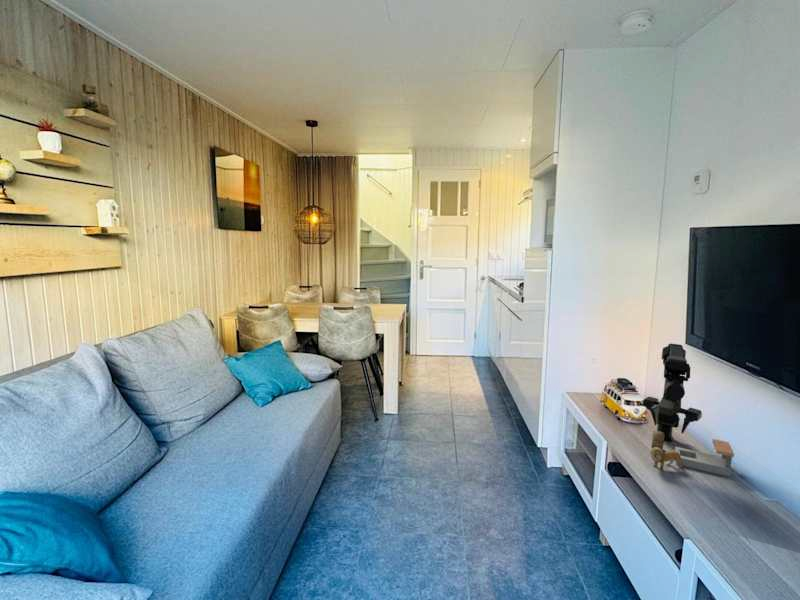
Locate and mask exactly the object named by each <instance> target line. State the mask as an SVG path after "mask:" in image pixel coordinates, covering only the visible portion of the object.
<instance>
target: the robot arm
mask: <svg viewBox="0 0 800 600" xmlns="http://www.w3.org/2000/svg"><path fill="white" fill-rule="evenodd" d="M683 347H684V346H683V345H682V344H678V343H677V344H676V343H668V344H667V346H665V347H662V352H661V360H662V364H663V367H664V368H663V378H664V386H663V394H662V398H661V399H660V400H659V398H657V397H652V396H647V397H646V398H644V399H643V401H642V406H643V407H645V410H648V411H649V412H650V414H651V416H652V419H653V423H654V425H655V426H657V428H656V431H660V432H663V433H664V434H665V435H664V441H669V442H673V441H674V438H673V428H675V429H677V428H679V425H680V424H679V423H680V420H681V419H680V416H679V414H682V415H684V418H683V423H682V428H681V434H684V433H685V432H686V429H687V428H688V427H689V425H690V423H694V422H699V420H700V419H701V418H702V417H703V412H702V410H701V409H698V408H693V407H689V408H688V409H685V408H682V400H683V398H684V397H685V393H686V392H685V387H684V383H685V382H689V379H690V378H691V366H690V363H688V360H687V359H686V357H687V356H686V355H687V351H686V349H684V348H683Z"/></svg>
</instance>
